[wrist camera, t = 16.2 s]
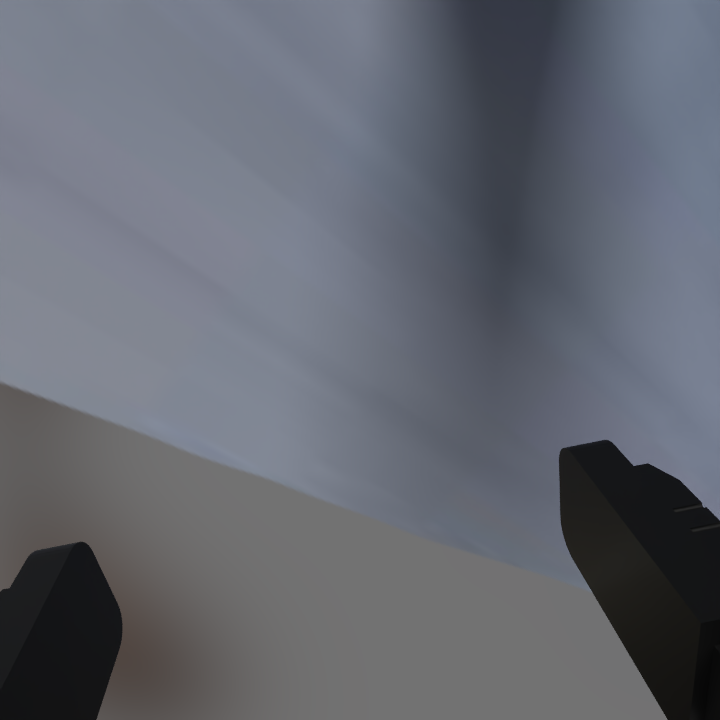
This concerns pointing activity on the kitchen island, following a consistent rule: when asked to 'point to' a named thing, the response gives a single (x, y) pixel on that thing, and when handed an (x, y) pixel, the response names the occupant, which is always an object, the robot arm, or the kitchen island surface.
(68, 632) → the robot arm
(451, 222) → the kitchen island surface
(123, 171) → the kitchen island surface
